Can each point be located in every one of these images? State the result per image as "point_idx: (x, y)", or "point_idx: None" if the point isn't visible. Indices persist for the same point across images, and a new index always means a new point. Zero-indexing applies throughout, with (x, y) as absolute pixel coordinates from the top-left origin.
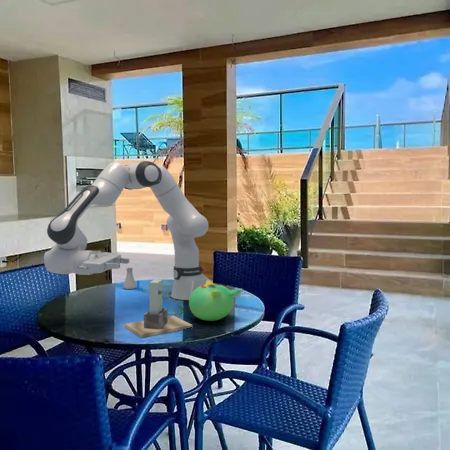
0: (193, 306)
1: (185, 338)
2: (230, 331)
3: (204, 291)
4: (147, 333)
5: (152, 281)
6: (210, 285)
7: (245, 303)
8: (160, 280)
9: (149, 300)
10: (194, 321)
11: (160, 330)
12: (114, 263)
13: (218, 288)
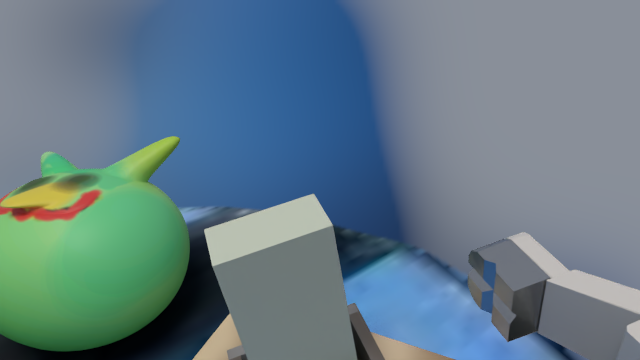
0: (170, 271)
1: (367, 259)
2: (234, 211)
3: (128, 194)
4: (446, 357)
5: (289, 233)
6: (73, 182)
7: None
8: (236, 221)
9: (348, 313)
10: (157, 342)
11: (378, 339)
12: (552, 271)
13: (88, 170)
